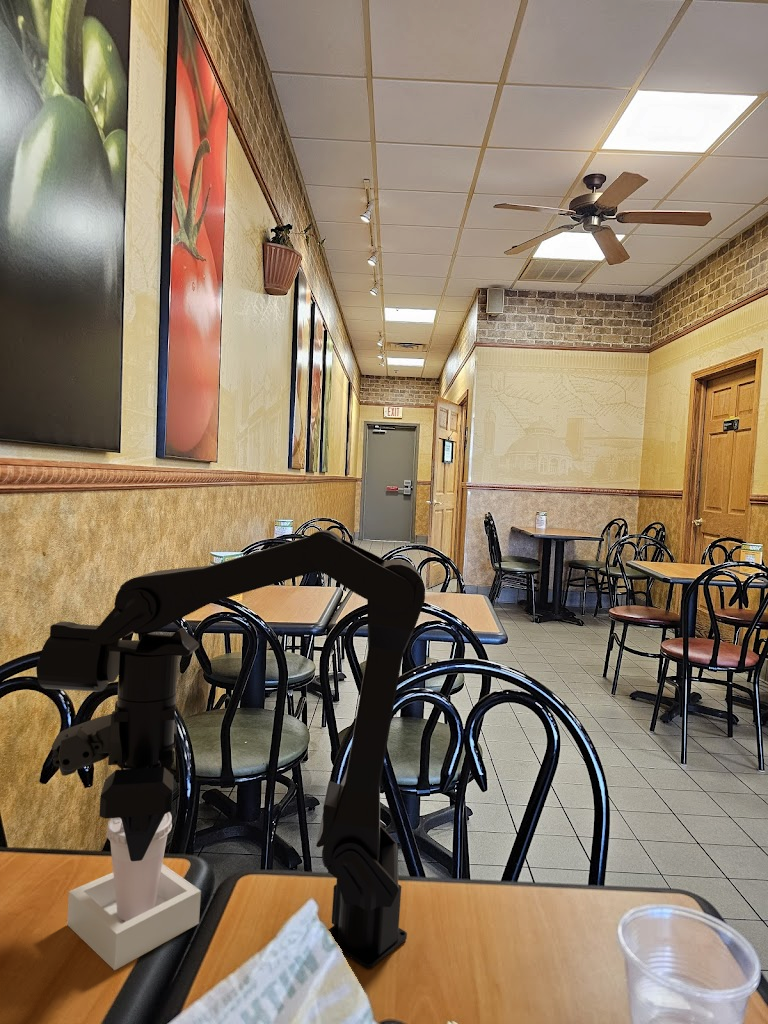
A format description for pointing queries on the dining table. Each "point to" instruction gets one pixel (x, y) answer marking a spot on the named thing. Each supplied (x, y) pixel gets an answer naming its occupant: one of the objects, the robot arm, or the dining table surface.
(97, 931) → the box
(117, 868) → the smoothie
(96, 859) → the dining table surface
